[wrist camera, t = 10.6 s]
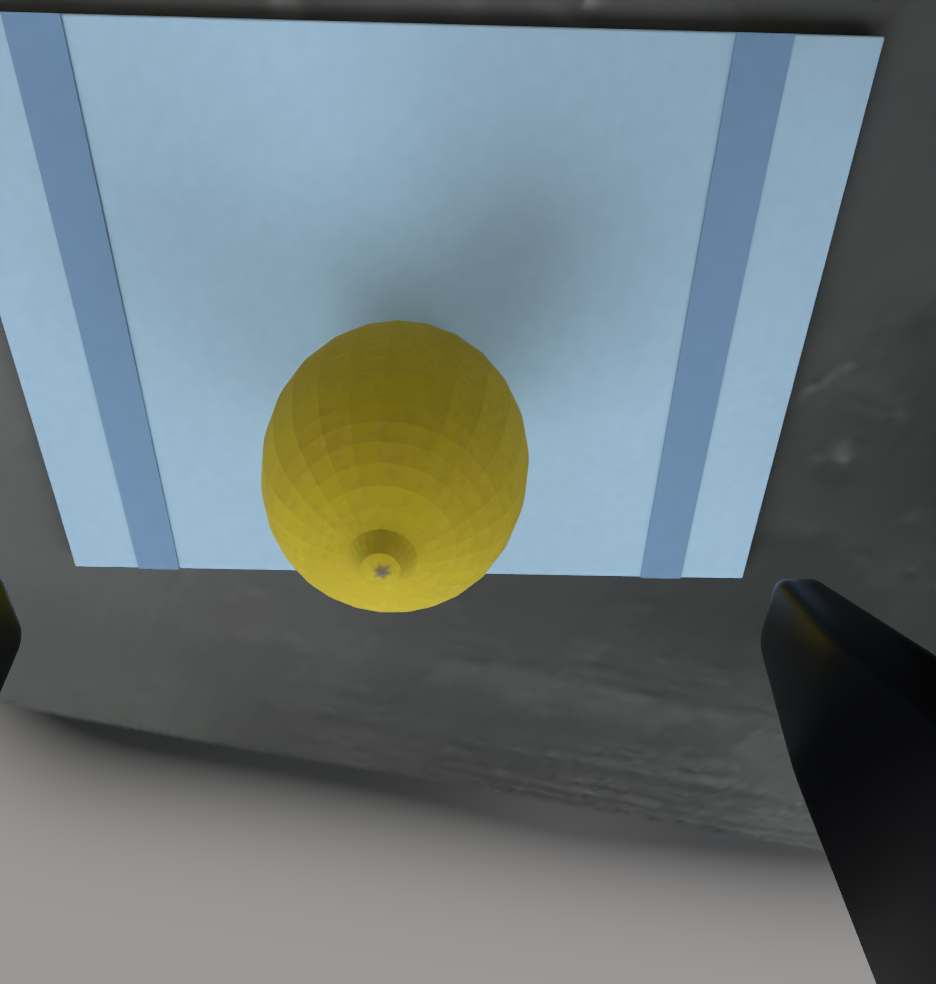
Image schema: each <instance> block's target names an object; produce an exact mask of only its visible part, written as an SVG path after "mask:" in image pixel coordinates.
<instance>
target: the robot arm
mask: <svg viewBox="0 0 936 984" xmlns="http://www.w3.org/2000/svg"><path fill="white" fill-rule="evenodd" d="M20 642H21V627H20V623H19V621H18V618H17V616H16V613H15V611H14V608H13V605H12V603H11V600H10V598H9V595H8V592H7V590H6V587H5V585H4V582H3V580H2V579H1V578H0V692H1V689H2V687H3V685H4V682H5V680H6V678H7V675H8V673H9V670H10V668H11V666H12V663H13V661H14V659H15V656H16V654H17V651H18V649H19V646H20ZM761 649H762V655H763V659H764V663H765V666H766V670H767V674H768V678H769V681H770V685H771V689H772V693H773V697H774V700H775V704H776V708H777V712H778V715H779V719H780V723H781V727H782V730H783V734H784V738H785V742H786V746H787V749H788V753H789V756H790V760H791V763H792V766H793V770H794V773H795V776H796V778H797V781H798V784H799V787H800V789H801V792H802V795H803V797H804V800H805V802H806V805H807V807H808V810H809V813H810V815H811V818H812V820H813V823H814V825H815V828H816V830H817V833H818V836H819V838H820V841H821V843H822V846H823V848H824V851H825V853H826V856H827V859H828V861H829V864H830V866H831V869H832V871H833V874H834V876H835V879H836V881H837V884H838V887H839V889H840V892H841V894H842V897H843V899H844V902H845V905H846V907H847V910H848V912H849V915H850V917H851V920H852V922H853V925H854V927H855V930H856V933H857V935H858V937H859V940H860V943H861V945H862V948H863V950H864V953H865V955H866V958H867V961H868V963H869V966H870V968H871V971H872V973H873V975H874V979H875V980H876V984H936V656H935V655H934V654H932V653H930V652H929V651H927V650H926V649H924V648H923V647H921V646H919V645H918V644H916V643H915V642H913V641H912V640H910V639H908V638H907V637H905V636H904V635H902V634H901V633H899V632H897V631H896V630H894V629H893V628H891V627H890V626H888V625H886V624H885V623H883V622H882V621H880V620H879V619H877V618H875V617H874V616H872V615H871V614H869V613H868V612H866V611H864V610H863V609H861V608H860V607H858V606H857V605H855V604H853V603H852V602H850V601H849V600H847V599H846V598H844V597H842V596H841V595H839V594H838V593H836V592H835V591H833V590H831V589H830V588H828V587H827V586H825V585H824V584H822V583H820V582H819V581H816V580H812V579H783V580H781V581H779V582H778V583H777V584H776V586H775V588H774V590H773V594H772V597H771V601H770V604H769V608H768V612H767V615H766V619H765V623H764V626H763V630H762V634H761Z"/></svg>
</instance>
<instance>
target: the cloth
mask: <svg viewBox="0 0 936 984" xmlns="http://www.w3.org/2000/svg"><path fill="white" fill-rule="evenodd" d="M883 41H884V37H883V36H856V35H820V34H787V33H752V32H712V31H676V30H641V29H605V28H569V27H533V26H497V25H461V24H425V23H389V22H353V21H317V20H282V19H246V18H210V17H174V16H138V15H102V14H66V13H34V12H0V316H1V319H2V323H3V326H4V329H5V333H6V336H7V339H8V343H9V346H10V349H11V353H12V356H13V359H14V363H15V366H16V369H17V373H18V376H19V379H20V382H21V386H22V389H23V392H24V396H25V399H26V402H27V406H28V409H29V412H30V416H31V419H32V422H33V426H34V429H35V432H36V435H37V439H38V442H39V445H40V449H41V452H42V455H43V459H44V462H45V465H46V469H47V472H48V475H49V479H50V482H51V485H52V489H53V492H54V495H55V498H56V502H57V505H58V508H59V512H60V515H61V518H62V522H63V525H64V528H65V532H66V535H67V538H68V542H69V545H70V548H71V551H72V555H73V558H74V561H75V565H76V566H101V567H139V569H180V568H213V569H268V570H296V569H295V568H294V567H293V566H292V565H291V563H290V562H289V561H288V560H287V558H286V557H285V555H284V554H283V552H282V550H281V548H280V547H279V545H278V543H277V541H276V539H275V538H274V536H273V534H272V531H271V529H270V526H269V522H268V518H267V514H266V510H265V506H264V501H263V497H262V490H261V472H262V456H263V443H264V437H265V433H266V430H267V427H268V424H269V421H270V419H271V416H272V413H273V410H274V408H275V405H276V402H277V400H278V397H279V395H280V393H281V391H282V390H283V388H284V387H285V385H286V384H287V383H288V381H289V380H290V379H291V377H292V376H293V375H294V373H295V372H296V371H297V369H298V368H299V367H300V365H301V364H302V363H303V362H304V361H305V359H306V358H308V357H309V356H310V355H312V354H313V353H314V352H316V351H317V350H318V349H320V348H321V347H322V346H324V345H325V344H326V343H328V342H329V341H330V340H332V339H333V338H334V337H336V336H338V335H341V334H343V333H346V332H348V331H351V330H353V329H356V328H358V327H361V326H363V325H366V324H370V323H378V322H386V321H393V320H402V321H410V322H419V323H427V324H430V325H433V326H435V327H438V328H441V329H443V330H446V331H449V332H451V333H454V334H456V335H458V336H459V337H461V338H462V339H464V340H465V341H466V342H468V343H469V344H471V345H472V346H474V347H475V348H477V349H478V350H479V351H481V352H482V353H483V354H484V355H485V356H486V357H487V358H488V359H489V361H490V362H491V363H492V364H493V365H494V366H495V368H496V369H497V370H498V371H499V372H500V374H501V375H502V376H503V377H504V379H505V380H506V382H507V384H508V386H509V388H510V390H511V392H512V394H513V396H514V398H515V401H516V403H517V405H518V407H519V409H520V411H521V414H522V418H523V422H524V428H525V434H526V439H527V445H528V451H529V466H528V474H527V483H526V491H525V499H524V503H523V507H522V510H521V513H520V516H519V518H518V520H517V523H516V525H515V527H514V530H513V532H512V534H511V537H510V539H509V541H508V543H507V545H506V547H505V549H504V551H503V552H502V553H501V554H500V556H499V557H498V558H497V559H496V561H495V562H494V563H493V565H492V566H491V567H490V568H489V570H488V571H487V572H486V573H490V574H546V575H601V576H640V577H641V578H681V577H712V578H742V577H743V573H744V569H745V565H746V562H747V558H748V554H749V550H750V546H751V543H752V539H753V535H754V531H755V527H756V524H757V520H758V516H759V512H760V508H761V505H762V501H763V497H764V493H765V489H766V486H767V482H768V478H769V474H770V471H771V467H772V463H773V459H774V455H775V452H776V448H777V444H778V440H779V436H780V433H781V429H782V425H783V421H784V417H785V414H786V410H787V406H788V402H789V398H790V395H791V391H792V387H793V383H794V379H795V376H796V372H797V368H798V364H799V360H800V357H801V353H802V349H803V345H804V341H805V338H806V334H807V330H808V326H809V322H810V319H811V315H812V311H813V307H814V303H815V300H816V296H817V292H818V288H819V284H820V281H821V277H822V273H823V269H824V265H825V262H826V258H827V254H828V250H829V246H830V243H831V239H832V235H833V231H834V227H835V224H836V220H837V216H838V212H839V209H840V205H841V201H842V197H843V193H844V190H845V186H846V182H847V178H848V174H849V171H850V167H851V163H852V159H853V155H854V152H855V148H856V144H857V140H858V136H859V133H860V129H861V125H862V121H863V117H864V114H865V110H866V106H867V102H868V98H869V95H870V91H871V87H872V83H873V79H874V76H875V72H876V68H877V64H878V60H879V57H880V53H881V49H882V45H883Z"/></svg>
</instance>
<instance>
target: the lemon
mask: <svg viewBox="0 0 936 984" xmlns="http://www.w3.org/2000/svg"><path fill="white" fill-rule="evenodd" d="M528 466H529V451H528V445H527V439H526V434H525V428H524V422H523V418H522V414H521V411H520V409H519V407H518V405H517V403H516V401H515V398H514V396H513V394H512V392H511V390H510V388H509V386H508V384H507V382H506V380H505V379H504V377H503V376H502V375H501V374H500V372H499V371H498V370H497V369H496V368H495V366H494V365H493V364H492V363H491V362H490V361H489V359H488V358H487V357H486V356H485V355H484V354H483V353H482V352H481V351H479V350H478V349H477V348H475V347H474V346H472V345H471V344H469V343H468V342H466V341H465V340H464V339H462V338H461V337H459V336H458V335H456V334H454V333H451V332H449V331H446V330H443V329H441V328H438V327H435V326H433V325H430V324H427V323H419V322H410V321H402V320H393V321H386V322H378V323H370V324H366V325H363V326H361V327H358V328H356V329H353V330H351V331H348V332H346V333H343V334H341V335H338V336H336V337H334V338H333V339H332V340H330V341H329V342H328V343H326V344H325V345H324V346H322V347H321V348H320V349H318V350H317V351H316V352H314V353H313V354H312V355H310V356H309V357H308V358H306V359H305V361H304V362H303V363H302V364H301V365H300V367H299V368H298V369H297V371H296V372H295V373H294V375H293V376H292V377H291V379H290V380H289V381H288V383H287V384H286V385H285V387H284V388H283V390H282V391H281V393H280V395H279V397H278V400H277V402H276V405H275V408H274V410H273V413H272V416H271V419H270V421H269V424H268V427H267V430H266V433H265V437H264V443H263V456H262V472H261V490H262V497H263V501H264V506H265V510H266V514H267V518H268V522H269V526H270V529H271V531H272V534H273V536H274V538H275V539H276V541H277V543H278V545H279V547H280V548H281V550H282V552H283V554H284V555H285V557H286V558H287V560H288V561H289V562H290V563H291V565H292V566H293V567H294V568H295V569H296V570H297V571H298V572H299V573H300V574H301V575H302V576H303V577H304V578H305V580H306V581H307V582H308V583H310V584H311V585H313V586H314V587H316V588H317V589H319V590H320V591H322V592H323V593H325V594H326V595H328V596H329V597H331V598H334V599H336V600H339V601H341V602H344V603H346V604H349V605H351V606H353V607H357V608H362V609H367V610H372V611H377V612H409V611H414V610H419V609H423V608H428V607H433V606H435V605H437V604H440V603H442V602H444V601H447V600H449V599H451V598H453V597H456V596H457V595H459V594H460V593H462V592H463V591H464V590H466V589H467V588H468V587H470V586H471V585H472V584H474V583H475V582H476V581H478V580H479V579H480V578H482V577H483V576H484V575H485V573H486V572H487V571H488V570H489V568H490V567H491V566H492V565H493V563H494V562H495V561H496V559H497V558H498V557H499V556H500V554H501V553H502V552H503V551H504V549H505V547H506V545H507V543H508V541H509V539H510V537H511V534H512V532H513V530H514V527H515V525H516V523H517V520H518V518H519V516H520V513H521V510H522V507H523V503H524V499H525V491H526V483H527V474H528Z"/></svg>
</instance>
